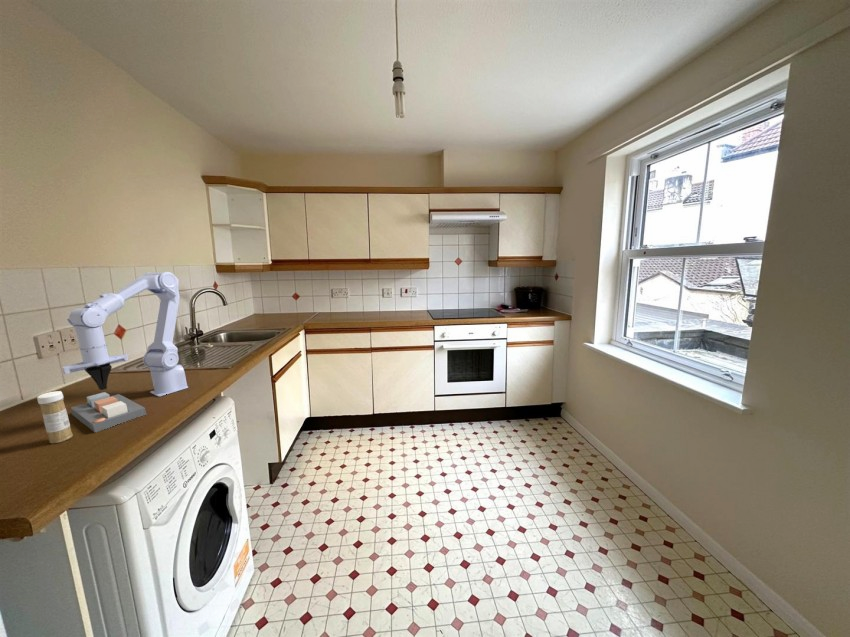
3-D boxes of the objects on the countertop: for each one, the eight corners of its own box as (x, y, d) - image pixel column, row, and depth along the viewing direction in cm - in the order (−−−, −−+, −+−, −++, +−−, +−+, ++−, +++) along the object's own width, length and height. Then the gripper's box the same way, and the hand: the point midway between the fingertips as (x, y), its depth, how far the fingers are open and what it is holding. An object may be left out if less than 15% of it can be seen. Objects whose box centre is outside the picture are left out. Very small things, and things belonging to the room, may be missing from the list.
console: (120, 400, 117) (118, 393, 117) (146, 415, 105) (144, 407, 104) (72, 414, 107) (70, 406, 107) (95, 432, 95) (92, 423, 94)
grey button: (107, 401, 113) (104, 392, 112) (111, 404, 110) (109, 394, 110) (88, 406, 109) (86, 397, 108) (93, 409, 107) (90, 399, 106)
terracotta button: (114, 406, 109) (112, 396, 108) (119, 409, 106) (117, 399, 106) (96, 411, 105) (93, 401, 104) (100, 414, 103) (98, 404, 102)
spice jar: (60, 436, 94) (48, 391, 91) (78, 434, 94) (66, 389, 92) (44, 445, 89) (31, 398, 87) (62, 443, 90) (50, 396, 87)
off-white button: (123, 411, 105) (120, 400, 104) (128, 414, 102) (126, 403, 102) (104, 417, 101) (101, 406, 100) (109, 420, 99) (106, 409, 98)
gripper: (62, 354, 94) (73, 400, 96) (128, 342, 106) (136, 383, 108) (56, 351, 97) (67, 395, 100) (120, 340, 109) (128, 379, 112)
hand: (102, 388), depth 104 cm, fingers closed
